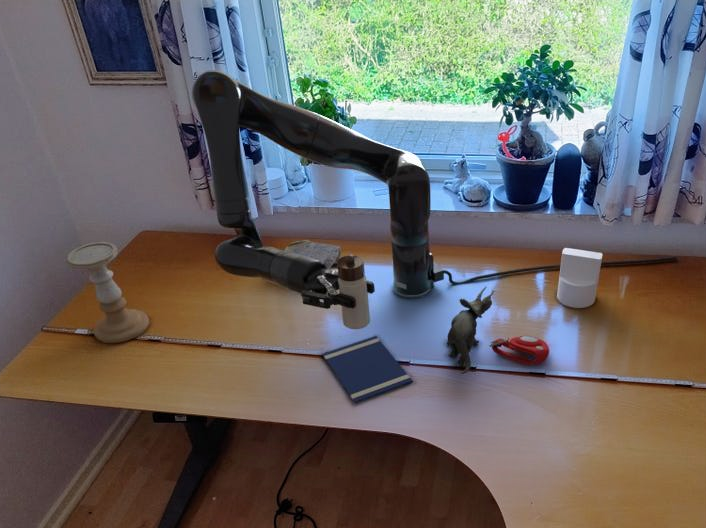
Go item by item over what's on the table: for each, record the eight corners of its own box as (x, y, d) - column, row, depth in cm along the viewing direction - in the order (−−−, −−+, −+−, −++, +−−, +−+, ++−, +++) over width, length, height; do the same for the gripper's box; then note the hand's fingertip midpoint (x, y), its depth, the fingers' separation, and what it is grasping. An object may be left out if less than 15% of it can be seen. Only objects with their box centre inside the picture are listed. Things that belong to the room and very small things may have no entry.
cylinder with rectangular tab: (553, 304, 149) (558, 259, 142) (561, 285, 156) (566, 241, 148) (591, 310, 146) (599, 266, 139) (597, 291, 153) (605, 247, 145)
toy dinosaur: (466, 390, 126) (466, 345, 119) (426, 381, 129) (425, 337, 122) (493, 329, 142) (495, 286, 135) (458, 322, 145) (458, 280, 138)
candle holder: (159, 326, 148) (131, 250, 136) (110, 350, 141) (76, 273, 129) (134, 307, 155) (105, 234, 142) (85, 330, 148) (51, 254, 136)
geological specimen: (322, 266, 157) (270, 254, 161) (324, 286, 161) (274, 274, 166) (342, 246, 165) (292, 234, 169) (343, 265, 169) (295, 254, 173)
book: (376, 337, 142) (376, 335, 141) (412, 382, 129) (412, 380, 129) (322, 355, 137) (322, 353, 137) (354, 403, 125) (354, 401, 124)
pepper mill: (363, 311, 129) (357, 245, 120) (374, 324, 126) (368, 257, 116) (339, 318, 127) (330, 252, 118) (349, 332, 124) (341, 265, 114)
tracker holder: (532, 330, 139) (560, 344, 131) (530, 349, 141) (557, 364, 133) (486, 334, 134) (512, 349, 126) (484, 353, 136) (509, 370, 127)
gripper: (270, 273, 121) (339, 297, 114) (317, 242, 131) (384, 262, 123) (277, 305, 126) (343, 330, 119) (322, 273, 135) (386, 294, 128)
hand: (364, 295), depth 121 cm, fingers closed on pepper mill, 5 cm apart
